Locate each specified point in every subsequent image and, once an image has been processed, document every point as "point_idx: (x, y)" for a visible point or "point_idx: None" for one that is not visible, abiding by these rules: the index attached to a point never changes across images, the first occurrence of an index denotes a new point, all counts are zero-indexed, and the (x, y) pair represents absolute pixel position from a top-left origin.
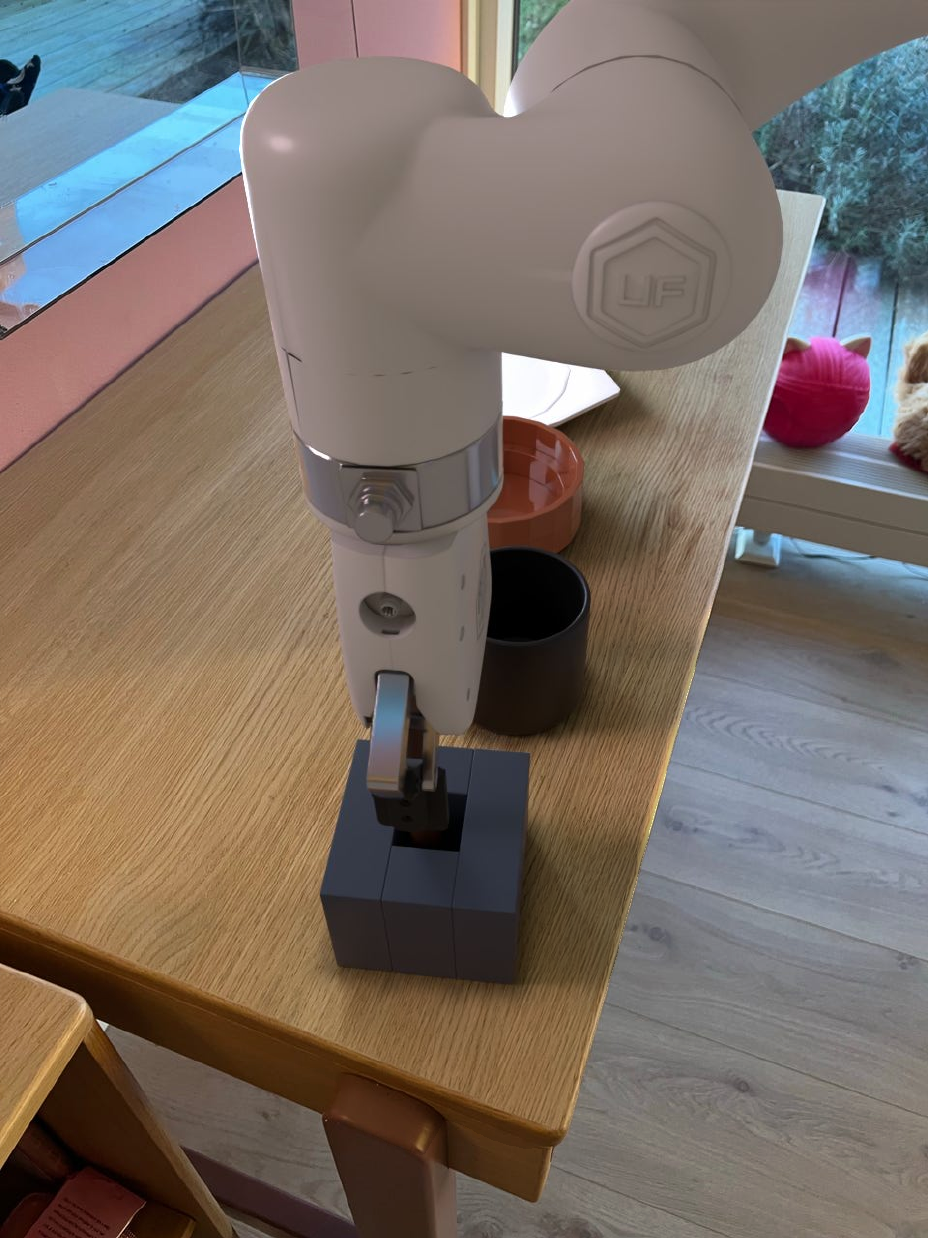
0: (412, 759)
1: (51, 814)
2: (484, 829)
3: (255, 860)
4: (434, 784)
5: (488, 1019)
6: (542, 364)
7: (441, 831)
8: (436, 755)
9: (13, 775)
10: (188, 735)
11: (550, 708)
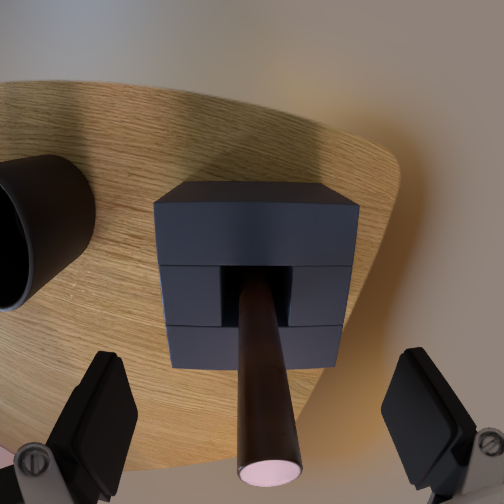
0: (453, 476)
1: (222, 448)
2: (263, 243)
3: None
4: (484, 433)
5: None
6: None
7: (257, 280)
8: (490, 471)
9: (203, 462)
10: (155, 410)
11: (71, 179)
